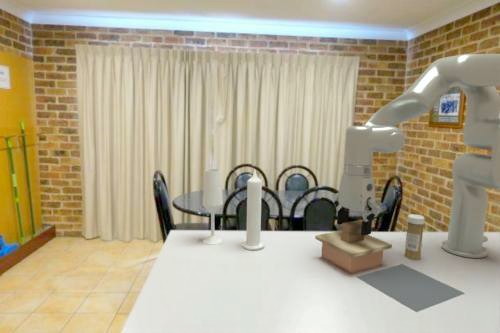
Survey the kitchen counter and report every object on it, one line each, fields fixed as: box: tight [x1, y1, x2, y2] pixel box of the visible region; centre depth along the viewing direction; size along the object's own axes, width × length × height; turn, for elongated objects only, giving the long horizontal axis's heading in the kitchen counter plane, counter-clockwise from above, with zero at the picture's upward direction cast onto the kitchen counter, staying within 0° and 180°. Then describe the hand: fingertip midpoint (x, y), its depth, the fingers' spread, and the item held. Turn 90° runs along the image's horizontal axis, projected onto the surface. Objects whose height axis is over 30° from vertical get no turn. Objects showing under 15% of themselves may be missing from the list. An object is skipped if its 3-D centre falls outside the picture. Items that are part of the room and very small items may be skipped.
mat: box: [356, 263, 466, 313], centre depth 88 cm, size 18×18×1 cm
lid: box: [314, 220, 393, 258], centre depth 100 cm, size 15×15×6 cm
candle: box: [241, 169, 265, 252], centre depth 110 cm, size 7×7×25 cm
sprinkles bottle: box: [403, 213, 426, 261], centre depth 104 cm, size 5×5×13 cm
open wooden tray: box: [320, 242, 384, 274], centre depth 101 cm, size 12×12×6 cm
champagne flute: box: [202, 168, 224, 246], centre depth 114 cm, size 7×7×24 cm
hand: (353, 229), depth 100 cm, fingers open, 9 cm apart
